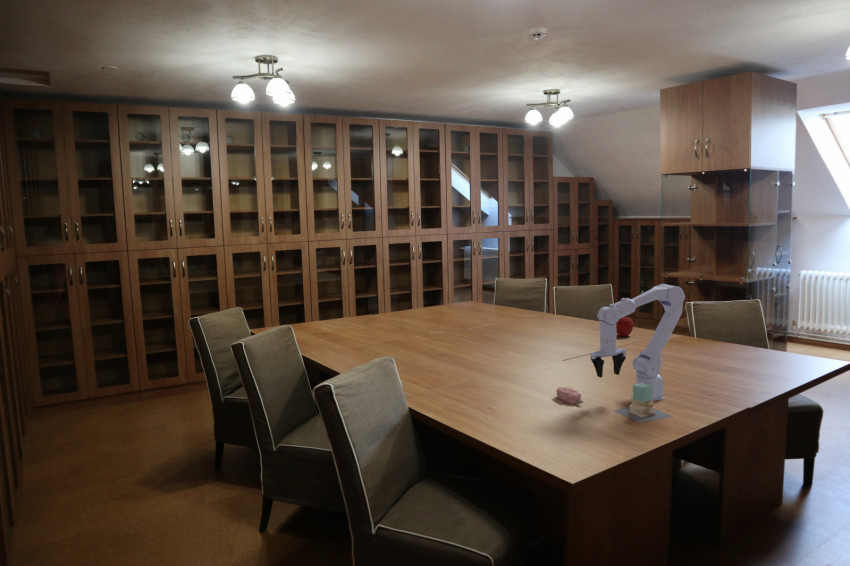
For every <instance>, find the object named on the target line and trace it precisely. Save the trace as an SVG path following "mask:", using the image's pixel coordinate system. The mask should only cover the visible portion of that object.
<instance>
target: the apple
mask: <svg viewBox="0 0 850 566" xmlns="http://www.w3.org/2000/svg"><path fill="white" fill-rule="evenodd" d="M634 325H635V324H634V321H633V319H632V318H631V317H627V316H624V317H622V318H620V319H619V320H618V322H617V323H616V335H618V336H619V337H627V336H629V335H630V334H631V333H632V331H633V329H634Z"/></svg>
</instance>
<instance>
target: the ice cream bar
mask: <svg viewBox="0 0 850 566" xmlns="http://www.w3.org/2000/svg"><path fill="white" fill-rule="evenodd" d="M555 392H556V397H557V399H559V400H561V401H562V402H565V403H567V404H569V405H579V404H583V403H584V401H583V400H582V394H581V393H580V392H579V391H577V390H575V389H574V388H573V389H572V388H571V387H568V386H567V387H565V386H564V387H562V386H561V387H559V386H558V387H557V388H556V390H555Z"/></svg>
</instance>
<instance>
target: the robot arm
mask: <svg viewBox="0 0 850 566" xmlns="http://www.w3.org/2000/svg"><path fill="white" fill-rule="evenodd" d="M685 299H686V294H685V292H684V290H683V288H682V287H680V286H676V285H671V284H666V283H661V284H658V285H655V286H653V287H652V288H651V289H649V290H647V291H644V292H643V293H640V294H639V295H638V296H635V297H633V298H632V299H631V298H629V297H626V298H625V297H623V298H620V300H619V301H617V302H615V303H610V304H609V306H603V307H601V308H600V309H599V310H598V312H597V314H596V317H597V319H598V320H599V350H596V351H594V352H590V353H589V358H590V361H591V363H592V364H593V366H594V369H595V372H596V376H597V377H598V378H603V371H604V370H603V369H604V364H605V360H604V359H602V358H606V357H607V358H608V357H611V358H612V361H613V362H612V363H613V374H614V375H618V376H619V375H620V372H621V369H622V366H623V364H624V362H625V360H626V359H627V357H626V355H627V349H626V348H625V349H624V348H617V333H616V323H617V322H618V320H619V319H620V318H622V317H627V316H628V315H631V314H633V313H634V312H636V310H637V309H636V308H638V307H641V306H643V305H646V304H649V303H651V302H654V301H659V302H660V303H661V305H662V306H663V308H664V313H663V315H662V318H661V319H660V321H659V323H658V324H657V326H656V329H655V331H654V333H653V335H652V336H651V339H650V341H649V342H648V344H647V346H646V348H644V349H643V350H641V351H640V352H639V354H638V355H637V356H635V358H634V359H633V361H632V367H633V369H634V370H635V374H636V375H635V385H636V384H639V383H643V384H647V385H652V400H653V402H654V401H655V402H656V401H661V400H665V399H666V397H664V385H665V384H664V379H663V377H662V376H661V374H660V372H661V366H662V363H663V359H662V354H663V353H662V352H663V351H664V349H665V347H666V346H667V343H668V341H669V340H670V338H671V336H672V333H673V332H674V329H675V328H676V326H677V324H678V322H679V319H680V318H681V316H682V314H683V308H684V307H683V305H684V301H685ZM630 397H631V398H633V394H632V395H630Z"/></svg>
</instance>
